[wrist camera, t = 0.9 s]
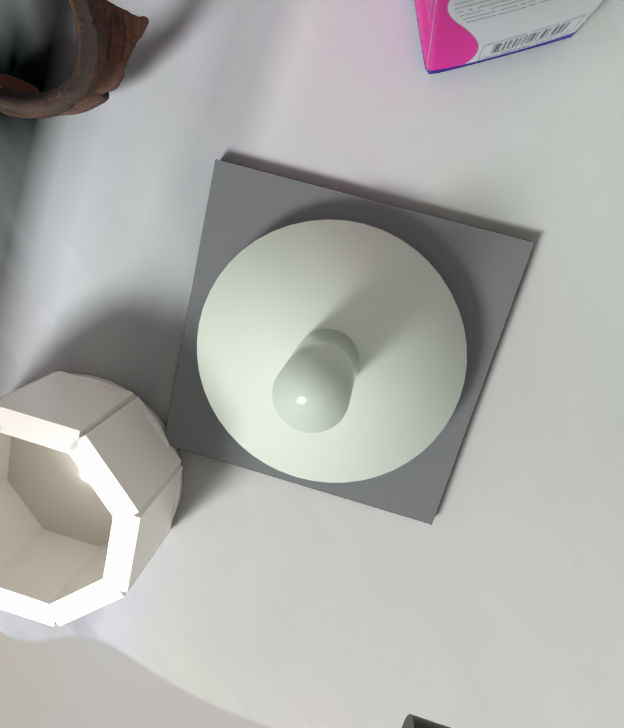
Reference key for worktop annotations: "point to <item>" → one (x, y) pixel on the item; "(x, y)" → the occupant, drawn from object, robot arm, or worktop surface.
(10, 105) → the pottery mug
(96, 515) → the bowl
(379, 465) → the lid
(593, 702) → the worktop surface
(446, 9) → the supplement box
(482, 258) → the mat
